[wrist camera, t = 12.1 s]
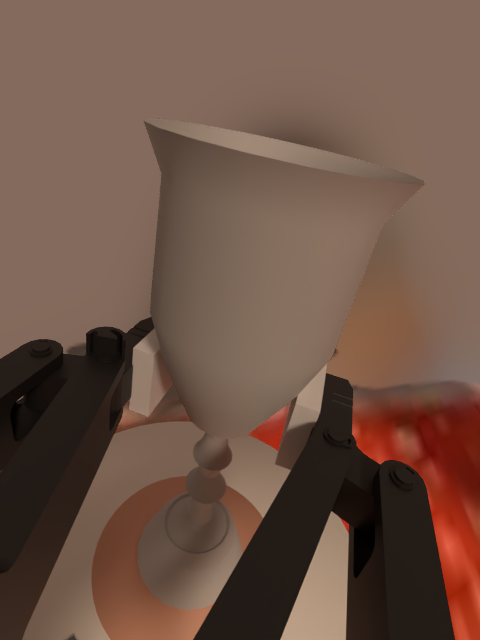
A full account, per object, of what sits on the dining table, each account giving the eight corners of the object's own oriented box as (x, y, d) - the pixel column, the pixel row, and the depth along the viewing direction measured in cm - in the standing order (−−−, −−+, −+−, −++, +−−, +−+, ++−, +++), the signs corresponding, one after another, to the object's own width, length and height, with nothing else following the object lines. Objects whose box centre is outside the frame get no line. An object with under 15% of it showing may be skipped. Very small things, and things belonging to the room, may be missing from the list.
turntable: (209, 403, 30) (212, 388, 29) (421, 602, 20) (434, 587, 19) (-73, 539, 18) (-81, 519, 17) (96, 1213, 8) (97, 1237, 7)
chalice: (113, 493, 20) (130, 110, 11) (234, 474, 22) (324, 148, 14) (122, 667, 14) (171, 144, 5) (284, 614, 16) (498, 201, 8)
